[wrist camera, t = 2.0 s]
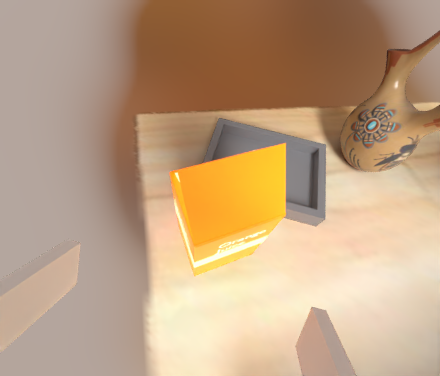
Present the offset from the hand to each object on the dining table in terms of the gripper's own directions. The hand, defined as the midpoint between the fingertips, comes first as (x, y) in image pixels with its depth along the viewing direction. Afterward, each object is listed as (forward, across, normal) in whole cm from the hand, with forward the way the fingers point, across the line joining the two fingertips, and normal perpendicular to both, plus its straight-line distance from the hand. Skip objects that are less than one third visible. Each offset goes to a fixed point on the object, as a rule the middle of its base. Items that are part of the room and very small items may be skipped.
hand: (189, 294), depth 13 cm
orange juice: (+20, 0, -7) cm, 21 cm away
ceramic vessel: (+36, +23, +10) cm, 44 cm away
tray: (+30, +6, +3) cm, 30 cm away
